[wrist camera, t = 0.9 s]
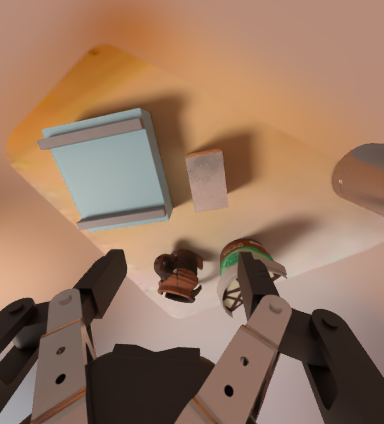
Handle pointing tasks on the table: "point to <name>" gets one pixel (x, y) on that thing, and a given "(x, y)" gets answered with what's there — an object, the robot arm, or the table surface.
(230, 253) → the food container
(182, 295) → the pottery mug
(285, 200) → the table surface
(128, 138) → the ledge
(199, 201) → the block
